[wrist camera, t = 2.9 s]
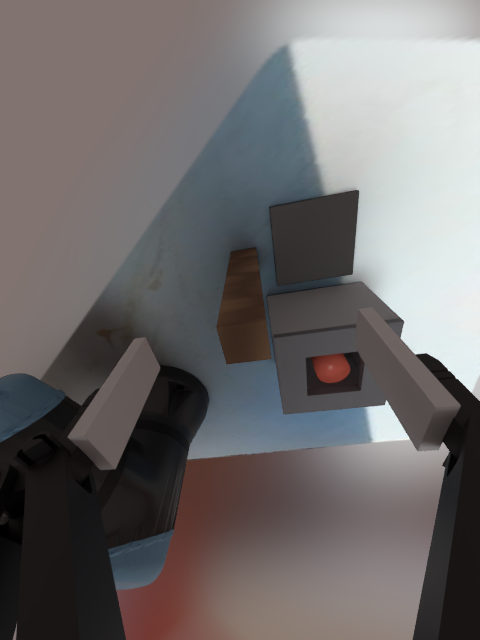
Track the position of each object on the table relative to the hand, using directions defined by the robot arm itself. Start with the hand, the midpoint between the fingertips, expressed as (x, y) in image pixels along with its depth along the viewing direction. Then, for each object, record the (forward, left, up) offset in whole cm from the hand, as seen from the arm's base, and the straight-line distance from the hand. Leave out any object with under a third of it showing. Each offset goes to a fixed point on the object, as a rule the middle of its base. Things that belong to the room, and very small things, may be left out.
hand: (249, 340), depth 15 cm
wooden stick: (0, 0, -16) cm, 16 cm away
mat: (+8, +1, -16) cm, 18 cm away
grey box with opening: (+8, -11, -16) cm, 21 cm away
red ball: (+8, -11, -12) cm, 18 cm away
